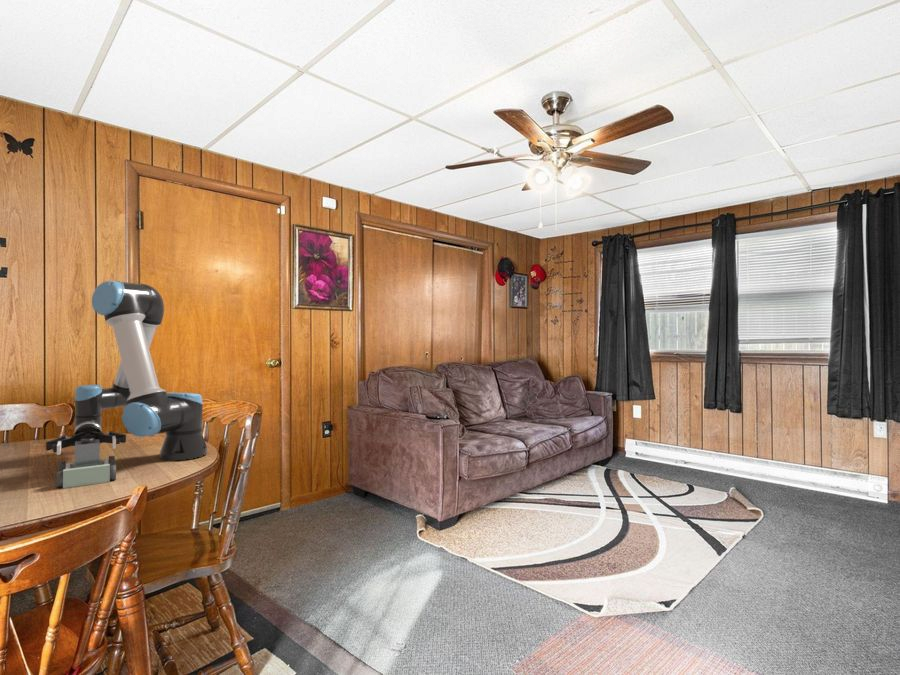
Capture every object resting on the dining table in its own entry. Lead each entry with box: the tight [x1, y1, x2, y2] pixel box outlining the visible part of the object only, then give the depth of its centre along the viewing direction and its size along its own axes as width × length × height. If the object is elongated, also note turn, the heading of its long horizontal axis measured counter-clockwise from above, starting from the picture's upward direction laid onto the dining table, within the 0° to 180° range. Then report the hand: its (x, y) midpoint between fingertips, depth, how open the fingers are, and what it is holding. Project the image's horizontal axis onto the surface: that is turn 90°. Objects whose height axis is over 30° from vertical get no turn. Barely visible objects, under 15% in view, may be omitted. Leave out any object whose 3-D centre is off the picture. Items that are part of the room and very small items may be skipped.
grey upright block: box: [74, 438, 101, 468], centre depth 150 cm, size 6×6×10 cm
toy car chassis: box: [55, 455, 117, 489], centre depth 150 cm, size 17×14×5 cm
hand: (87, 447), depth 147 cm, fingers open, 13 cm apart
